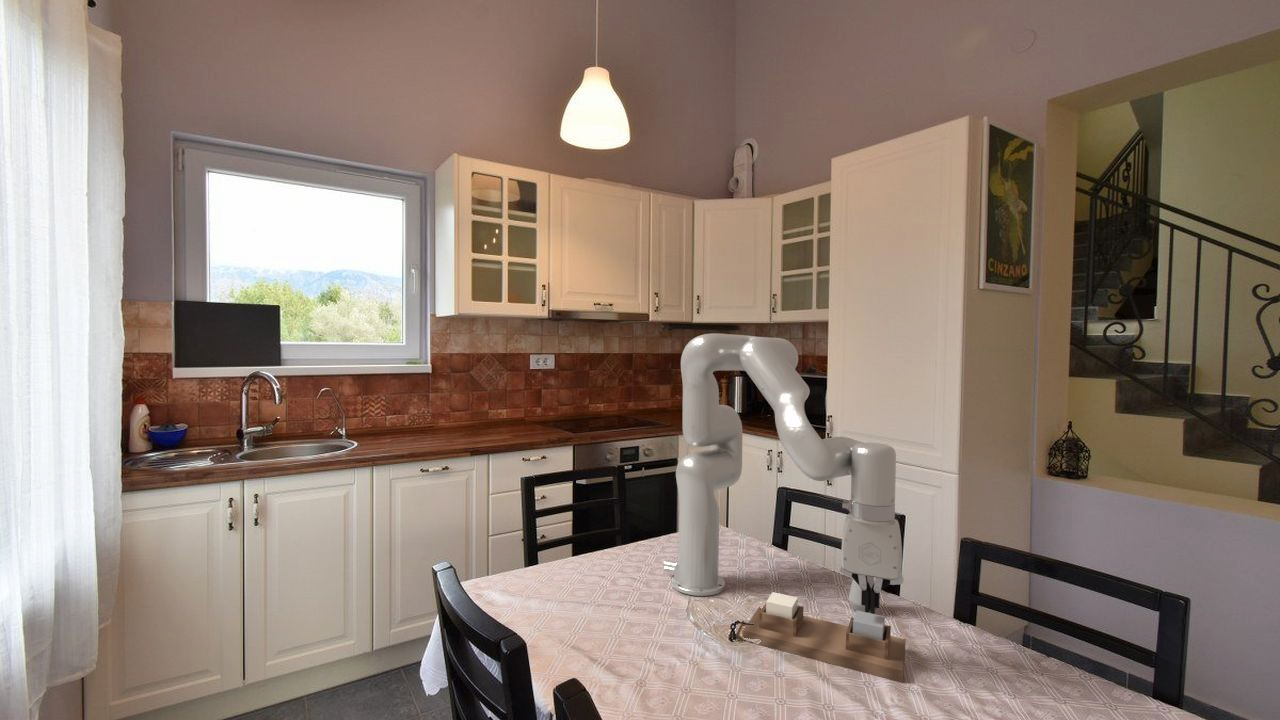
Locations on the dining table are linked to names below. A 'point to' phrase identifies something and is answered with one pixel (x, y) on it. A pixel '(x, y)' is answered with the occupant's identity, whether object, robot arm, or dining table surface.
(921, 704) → the dining table surface
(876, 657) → the key panel
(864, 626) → the grey key
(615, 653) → the dining table surface
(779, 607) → the cream key
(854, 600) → the salt shaker
